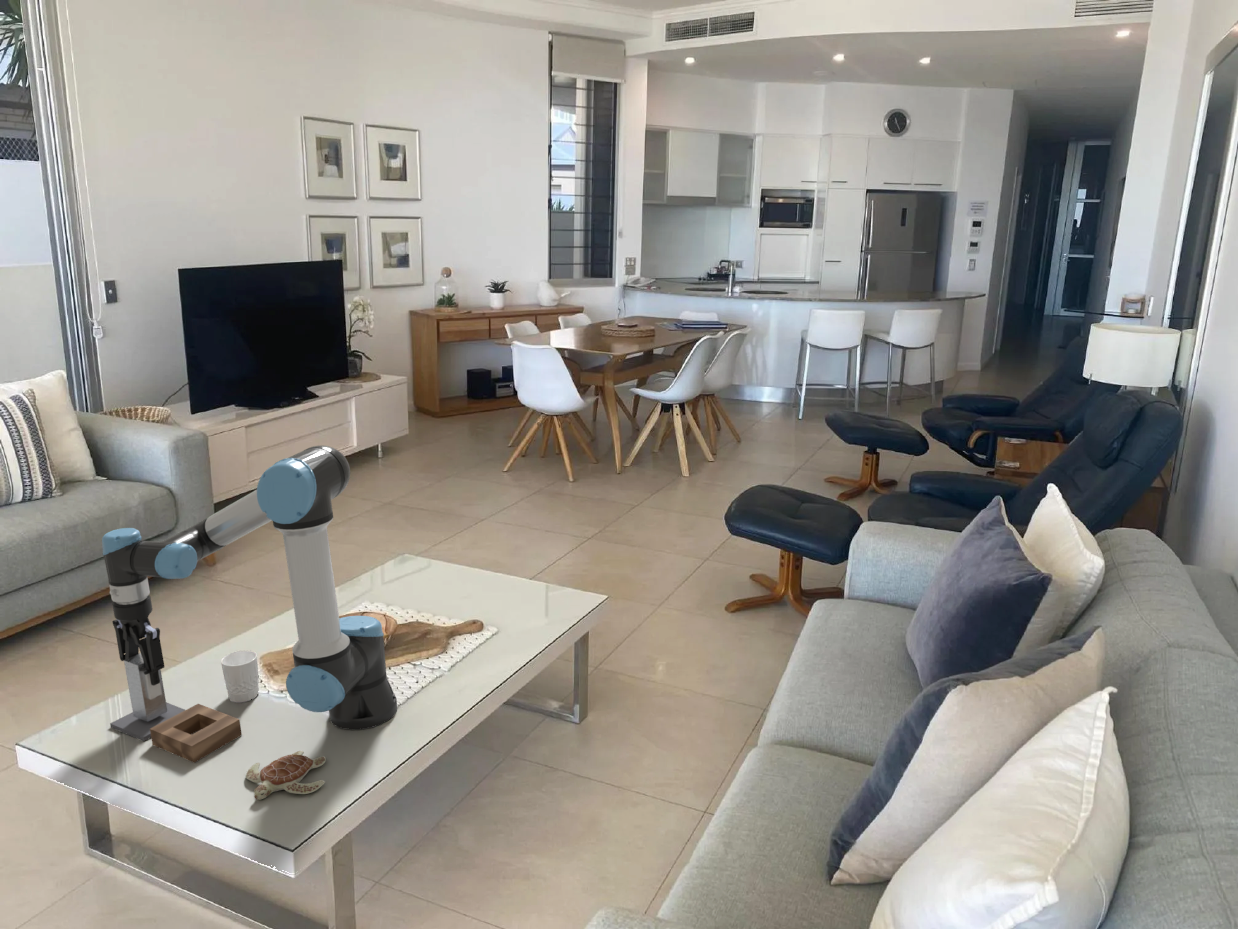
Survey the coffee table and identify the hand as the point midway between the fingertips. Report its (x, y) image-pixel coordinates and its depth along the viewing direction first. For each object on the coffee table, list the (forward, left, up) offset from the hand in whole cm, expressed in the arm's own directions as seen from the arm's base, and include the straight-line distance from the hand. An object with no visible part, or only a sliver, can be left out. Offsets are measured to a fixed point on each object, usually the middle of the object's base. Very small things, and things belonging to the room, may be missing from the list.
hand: (147, 693), depth 210 cm
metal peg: (0, 0, -5) cm, 5 cm away
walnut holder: (-16, 0, -7) cm, 17 cm away
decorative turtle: (-45, +1, -8) cm, 46 cm away
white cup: (-9, -18, -7) cm, 21 cm away
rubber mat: (0, 0, -7) cm, 7 cm away
